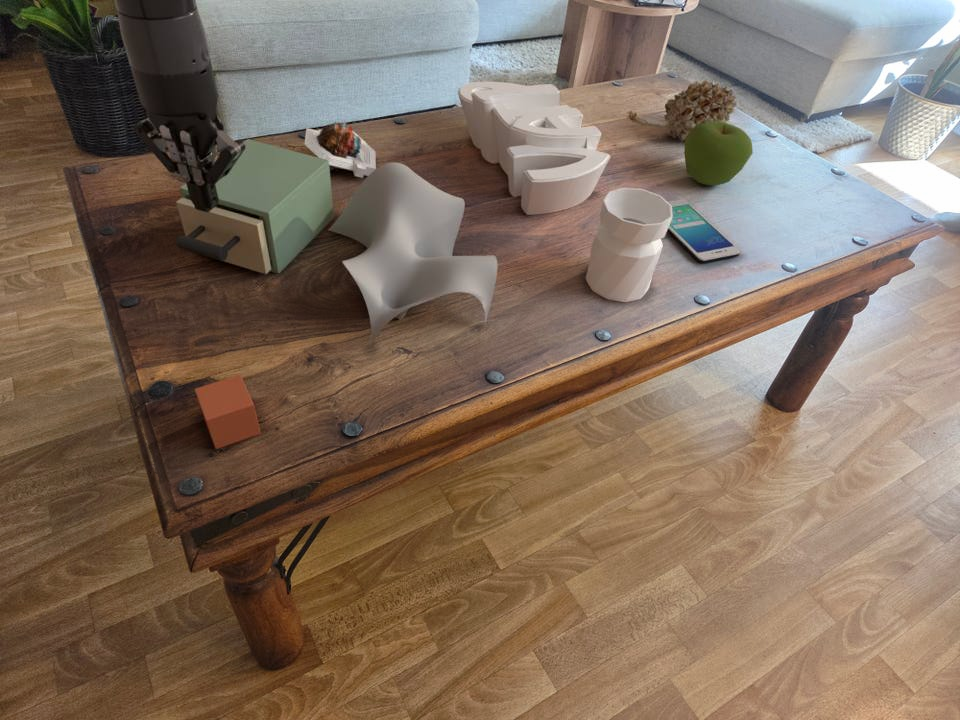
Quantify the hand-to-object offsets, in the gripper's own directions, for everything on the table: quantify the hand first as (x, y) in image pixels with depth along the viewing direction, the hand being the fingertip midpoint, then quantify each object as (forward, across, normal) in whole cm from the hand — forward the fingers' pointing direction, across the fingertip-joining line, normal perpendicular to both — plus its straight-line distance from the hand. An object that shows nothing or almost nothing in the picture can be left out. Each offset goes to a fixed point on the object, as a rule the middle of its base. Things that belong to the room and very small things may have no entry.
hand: (206, 207), depth 77 cm
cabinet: (+10, 0, +10) cm, 14 cm away
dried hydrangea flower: (+10, +49, +69) cm, 85 cm away
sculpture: (+10, +22, +10) cm, 26 cm away
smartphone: (+10, +56, +38) cm, 68 cm away
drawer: (+9, 0, +6) cm, 11 cm away
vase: (+10, +48, +21) cm, 53 cm away
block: (+10, +16, -21) cm, 28 cm away
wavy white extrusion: (+10, +27, +44) cm, 53 cm away
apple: (+10, +56, +56) cm, 80 cm away
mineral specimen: (+10, 0, +32) cm, 33 cm away
